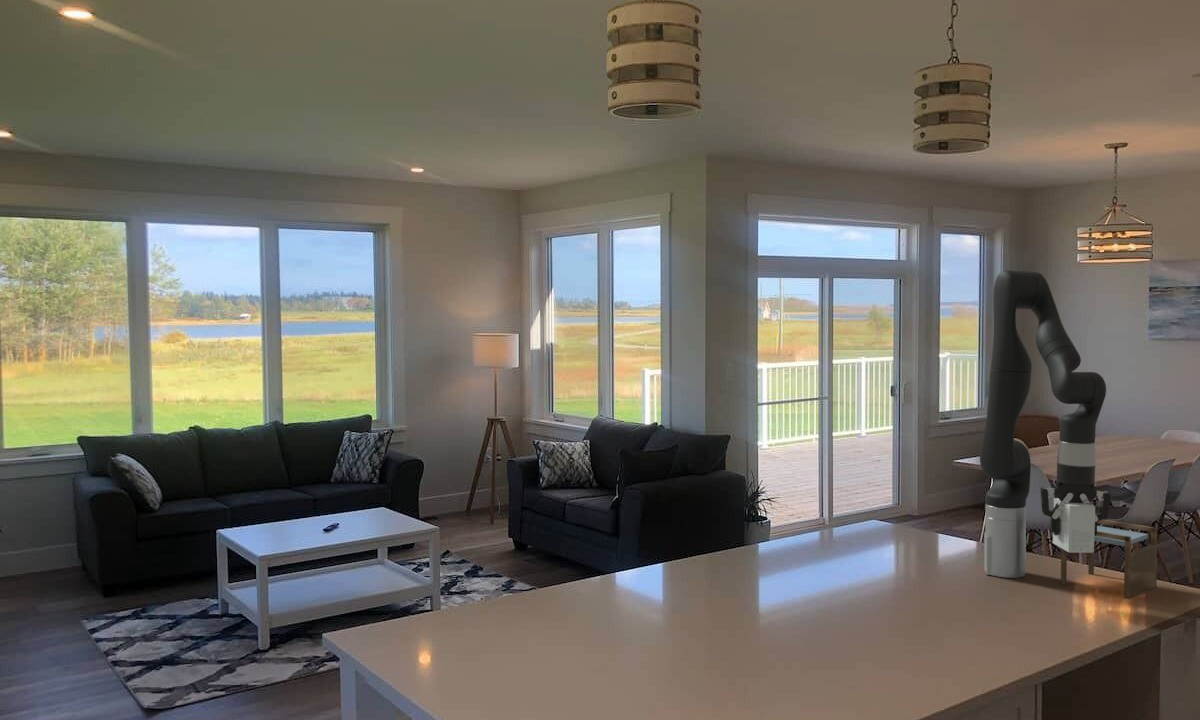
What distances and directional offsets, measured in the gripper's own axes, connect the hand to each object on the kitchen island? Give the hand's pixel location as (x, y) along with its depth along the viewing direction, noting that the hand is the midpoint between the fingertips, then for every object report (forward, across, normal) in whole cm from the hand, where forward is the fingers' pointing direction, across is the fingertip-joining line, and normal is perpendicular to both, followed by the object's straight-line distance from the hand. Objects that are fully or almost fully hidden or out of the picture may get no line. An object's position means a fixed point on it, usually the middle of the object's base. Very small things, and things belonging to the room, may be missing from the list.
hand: (1073, 535), depth 205 cm
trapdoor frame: (+15, +11, +17) cm, 25 cm away
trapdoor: (+5, +8, +19) cm, 21 cm away
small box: (+3, 0, 0) cm, 3 cm away
